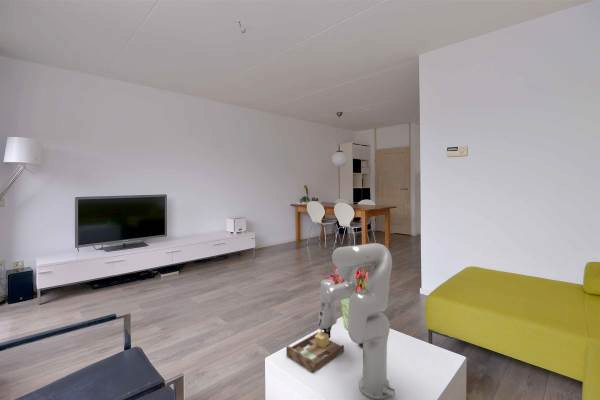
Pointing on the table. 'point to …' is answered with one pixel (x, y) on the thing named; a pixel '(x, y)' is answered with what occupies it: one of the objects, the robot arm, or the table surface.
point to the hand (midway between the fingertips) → (327, 337)
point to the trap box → (313, 353)
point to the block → (322, 339)
